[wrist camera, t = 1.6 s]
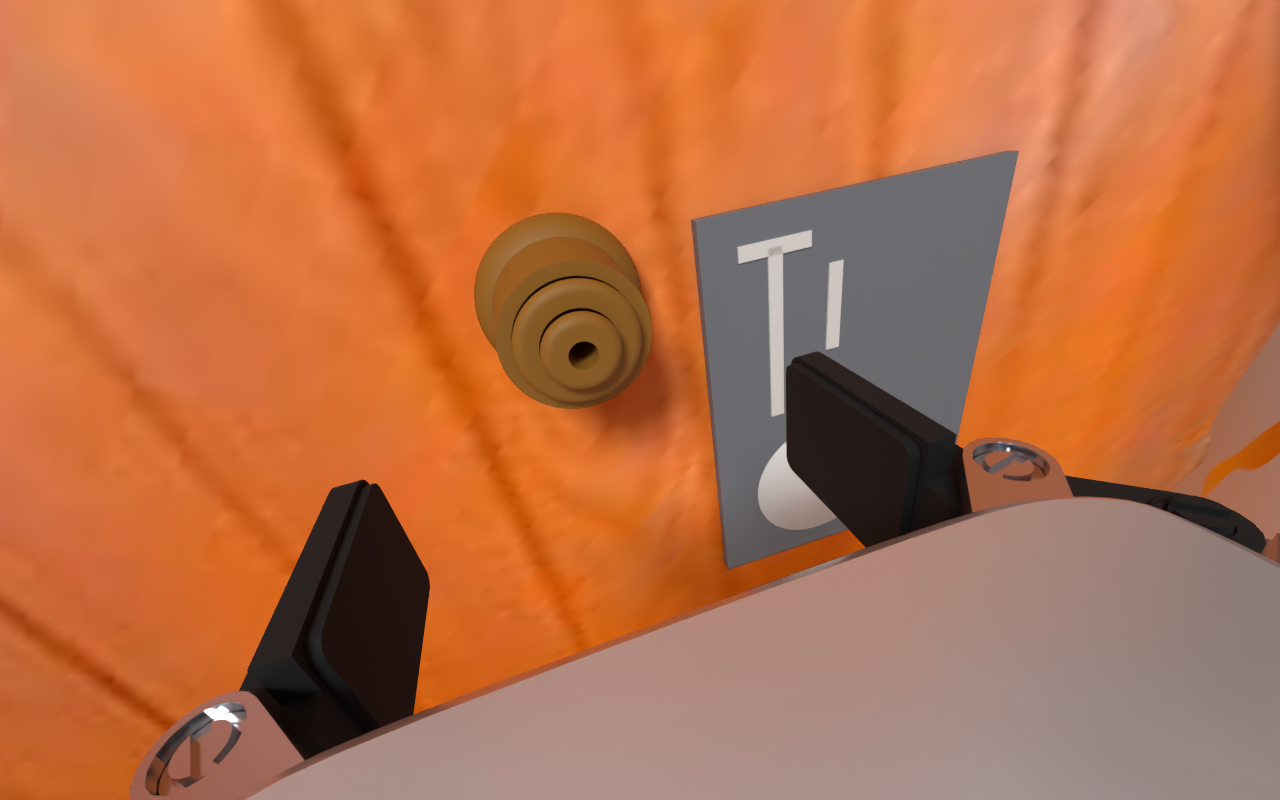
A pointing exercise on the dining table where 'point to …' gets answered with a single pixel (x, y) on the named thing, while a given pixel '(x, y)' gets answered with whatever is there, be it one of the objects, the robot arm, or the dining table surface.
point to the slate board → (839, 321)
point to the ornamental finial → (563, 310)
